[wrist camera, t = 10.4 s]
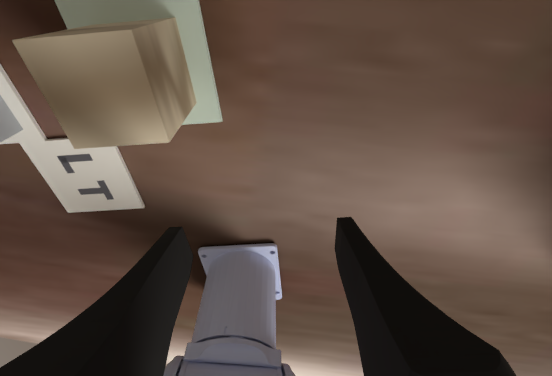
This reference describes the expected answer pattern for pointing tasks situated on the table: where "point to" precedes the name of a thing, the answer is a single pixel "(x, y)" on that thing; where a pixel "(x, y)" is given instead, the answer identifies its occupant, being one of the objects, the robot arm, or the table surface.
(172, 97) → the maple block
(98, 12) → the mat
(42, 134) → the tile
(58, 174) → the tile
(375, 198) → the table surface
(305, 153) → the table surface
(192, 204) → the table surface
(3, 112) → the grey block
